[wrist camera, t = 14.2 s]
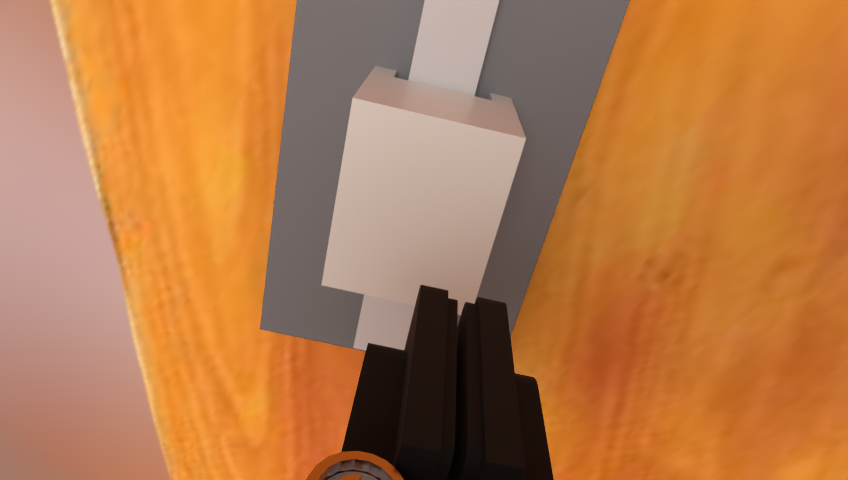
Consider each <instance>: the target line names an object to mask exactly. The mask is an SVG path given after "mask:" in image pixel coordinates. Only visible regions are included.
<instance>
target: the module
mask: <svg viewBox="0 0 848 480" xmlns="http://www.w3.org/2000/svg"><path fill="white" fill-rule="evenodd" d="M396 73H397V71H396V70H392V69H388V68H383V67H379V66H375V67H374V68H373V70H372V71H371V73H370V74H369V75H368V77H367V78H366V80H365V81H364V82H363V84H362V85H361V87H360V88H359V89H358V91H357V92H356V93H355V95H354V96H353V98H352V104H351V110H350V116H349V122H348V128H347V134H346V140H345V146H344V152H343V158H342V164H341V170H340V176H339V182H338V188H337V194H336V200H335V206H334V212H333V218H332V224H331V230H330V236H329V242H328V248H327V254H326V260H325V266H324V272H323V278H322V284H321V285H322V286H327V287H332V288H336V289H341V290H346V291H350V292H355V293H359V294H364V295H369V296H373V297H378V298H383V299H387V300H392V301H396V302H401V303H406V304H410V305H415V304H416V300H417V296H418V292H419V288H420V285H425V286H430V287H435V288H439V289H444V290H448V298H450V299H455V300H458V315H461V313H462V310H463V307H464V304H465V302H469V303H475V300H476V297H477V294H478V291H479V288H480V284H481V281H482V278H483V275H484V272H485V268H486V265H487V262H488V259H489V256H490V252H491V249H492V246H493V243H494V240H495V237H496V233H497V230H498V227H499V224H500V221H501V217H502V214H503V211H504V208H505V205H506V201H507V198H508V195H509V192H510V189H511V185H512V182H513V179H514V176H515V173H516V169H517V166H518V163H519V160H520V157H521V153H522V150H523V147H524V144H525V141H526V137H525V134H524V131H523V129H522V126H521V123H520V120H519V118H518V115H517V112H516V110H515V107H514V104H513V102H512V99H511V98H509V97H505V96H501V95H497V94H493V93H490V95H489V99H484V98H480V97H476V96H471V95H467V94H463V93H459V92H454V91H450V90H446V89H442V88H438V87H433V86H429V85H425V84H421V83H417V82H412V81H408V80H404V79H400V78H396Z"/></svg>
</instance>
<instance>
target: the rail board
mask: <svg viewBox="0 0 848 480" xmlns="http://www.w3.org/2000/svg"><path fill="white" fill-rule="evenodd" d="M629 1H630V0H297V5H296V13H295V22H294V31H293V40H292V49H291V58H290V67H289V76H288V85H287V94H286V102H285V111H284V120H283V129H282V138H281V147H280V156H279V165H278V174H277V182H276V191H275V200H274V209H273V218H272V227H271V236H270V245H269V254H268V263H267V271H266V280H265V289H264V298H263V307H262V316H261V325H260V329H262V330H266V331H271V332H276V333H281V334H285V335H290V336H295V337H300V338H304V339H309V340H314V341H319V342H323V343H328V344H333V345H338V346H343V347H347V348H352V349H357V350H362V351H366V349H367V345H368V343H372V344H377V345H381V346H386V347H391V348H396V349H400V350H404V349H405V345H406V341H407V337H408V332H409V328H410V324H411V320H412V316H413V312H414V308H415V305H410V304H406V303H401V302H396V301H392V300H387V299H383V298H378V297H373V296H369V295H364V294H359V293H355V292H350V291H346V290H341V289H336V288H332V287H327V286H322V285H321V284H322V278H323V272H324V266H325V260H326V254H327V248H328V242H329V236H330V230H331V224H332V218H333V212H334V206H335V200H336V194H337V188H338V182H339V176H340V170H341V164H342V158H343V152H344V146H345V140H346V134H347V128H348V122H349V116H350V110H351V104H352V98H353V96H354V95H355V93H356V92H357V91H358V89H359V88H360V87H361V85H362V84H363V82H364V81H365V80H366V78H367V77H368V75H369V74H370V73H371V71H372V70H373V68H374V67H375V66H379V67H383V68H388V69H392V70H396V71H397V73H396V78H400V79H404V80H408V81H412V82H417V83H421V84H425V85H429V86H433V87H438V88H442V89H446V90H450V91H454V92H459V93H463V94H467V95H471V96H476V97H480V98H484V99H489V95H490V93H493V94H497V95H501V96H505V97H509V98H511V99H512V102H513V104H514V107H515V110H516V112H517V115H518V118H519V120H520V123H521V126H522V129H523V131H524V134H525V137H526V141H525V144H524V147H523V150H522V153H521V157H520V160H519V163H518V166H517V169H516V173H515V176H514V179H513V182H512V185H511V189H510V192H509V195H508V198H507V201H506V205H505V208H504V211H503V214H502V217H501V221H500V224H499V227H498V230H497V233H496V237H495V240H494V243H493V246H492V249H491V252H490V256H489V259H488V262H487V265H486V268H485V272H484V275H483V278H482V281H481V284H480V288H479V291H478V294H477V297H481V298H486V299H491V300H495V301H500V302H504V303H506V305H507V313H508V321H509V330H510V336H511V333H512V330H513V328H514V325H515V322H516V319H517V316H518V314H519V311H520V308H521V305H522V302H523V299H524V297H525V294H526V291H527V288H528V285H529V283H530V280H531V277H532V274H533V271H534V269H535V266H536V263H537V260H538V257H539V255H540V252H541V249H542V246H543V243H544V240H545V238H546V235H547V232H548V229H549V226H550V224H551V221H552V218H553V215H554V212H555V210H556V207H557V204H558V201H559V198H560V195H561V193H562V190H563V187H564V184H565V181H566V179H567V176H568V173H569V170H570V167H571V165H572V162H573V159H574V156H575V153H576V150H577V148H578V145H579V142H580V139H581V136H582V134H583V131H584V128H585V125H586V122H587V120H588V117H589V114H590V111H591V108H592V105H593V103H594V100H595V97H596V94H597V91H598V89H599V86H600V83H601V80H602V77H603V75H604V72H605V69H606V66H607V63H608V61H609V58H610V55H611V52H612V49H613V46H614V44H615V41H616V38H617V35H618V32H619V30H620V27H621V24H622V21H623V18H624V16H625V13H626V10H627V7H628V4H629ZM477 297H476V299H477ZM475 301H476V300H475ZM460 317H461V315H458V317H457V327H458V323H459V320H460Z"/></svg>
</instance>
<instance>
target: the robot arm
mask: <svg viewBox="0 0 848 480" xmlns="http://www.w3.org/2000/svg"><path fill="white" fill-rule="evenodd" d="M457 317H458V300H455V299H450V298H448V290H444V289H439V288H435V287H430V286H425V285H420V288H419V292H418V296H417V300H416V304H415V308H414V312H413V316H412V320H411V324H410V328H409V332H408V337H407V341H406V345H405V349H404V350H400V349H396V348H391V347H386V346H381V345H377V344H372V343H368V345H367V349H366V353H365V357H364V361H363V365H362V369H361V374H360V378H359V382H358V386H357V390H356V394H355V398H354V402H353V407H352V411H351V415H350V419H349V423H348V427H347V431H346V435H345V440H344V444H343V448H342V452H340V453H337V454H334V455H331V456H328V457H327V458H325V459H324V460H322V461H321V462H320V463H318V464H317V465H316V466H315V467H314V469H313V470H312V471H311V473H310V474H309V476H308V477H307V479H306V480H553V474H552V468H551V462H550V456H549V450H548V444H547V438H546V432H545V426H544V420H543V414H542V408H541V402H540V396H539V390H538V385H537V381H536V379H535V378H534V377H529V376H524V375H520V374H515V372H514V363H513V355H512V347H511V338H510V330H509V321H508V313H507V305H506V303H504V302H500V301H495V300H491V299H486V298H481V297H477V299H476V301H475V303H469V302H465V304H464V307H463V310H462V313H461V317H460V320H459V323H458V327H457Z"/></svg>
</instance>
